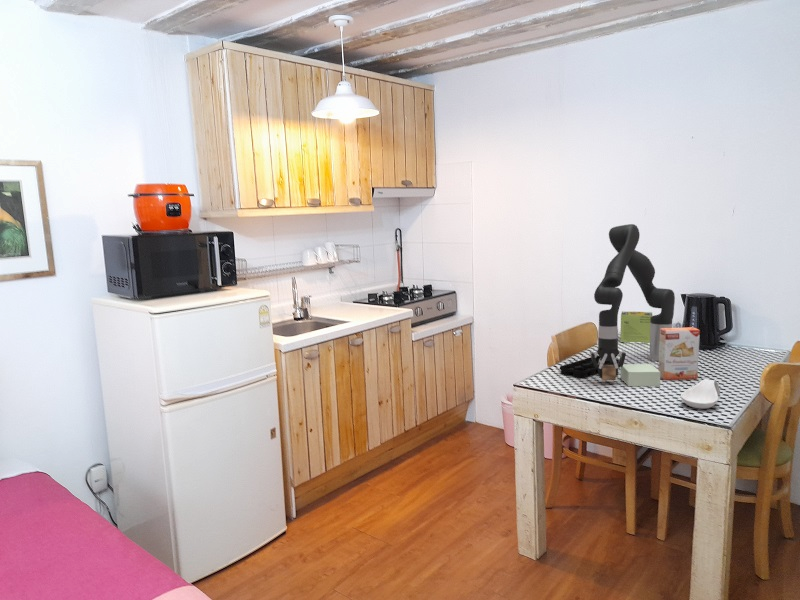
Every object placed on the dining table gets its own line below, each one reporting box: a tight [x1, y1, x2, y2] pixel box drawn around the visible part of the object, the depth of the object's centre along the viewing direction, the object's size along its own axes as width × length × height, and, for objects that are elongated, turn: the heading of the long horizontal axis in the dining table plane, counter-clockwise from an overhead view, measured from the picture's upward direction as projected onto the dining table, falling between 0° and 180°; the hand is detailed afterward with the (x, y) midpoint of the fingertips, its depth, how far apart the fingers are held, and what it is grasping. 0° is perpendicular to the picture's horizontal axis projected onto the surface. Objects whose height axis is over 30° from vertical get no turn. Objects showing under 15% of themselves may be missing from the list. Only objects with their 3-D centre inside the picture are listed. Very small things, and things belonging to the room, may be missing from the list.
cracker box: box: [657, 326, 701, 381], centre depth 235 cm, size 14×6×21 cm, turn 89°
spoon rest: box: [680, 378, 721, 410], centre depth 206 cm, size 24×12×7 cm, turn 138°
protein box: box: [619, 310, 653, 343], centre depth 303 cm, size 10×15×16 cm
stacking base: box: [620, 363, 661, 388], centre depth 232 cm, size 12×12×6 cm
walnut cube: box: [600, 365, 617, 381], centre depth 232 cm, size 5×5×5 cm
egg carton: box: [559, 355, 620, 379], centre depth 253 cm, size 18×30×4 cm, turn 139°
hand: (607, 376), depth 233 cm, fingers closed on walnut cube, 5 cm apart
